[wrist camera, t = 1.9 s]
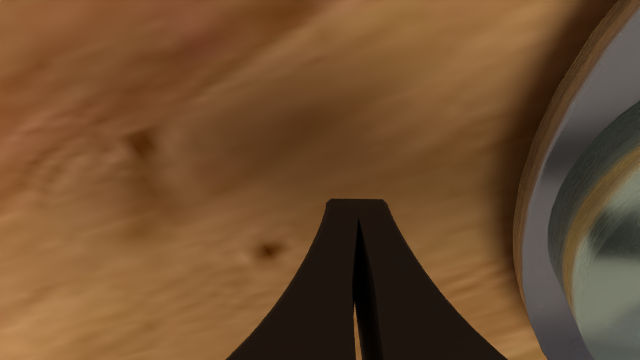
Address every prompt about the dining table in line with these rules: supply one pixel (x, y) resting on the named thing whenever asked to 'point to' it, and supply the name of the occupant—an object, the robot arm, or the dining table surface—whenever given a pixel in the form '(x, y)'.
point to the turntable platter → (570, 166)
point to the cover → (602, 240)
